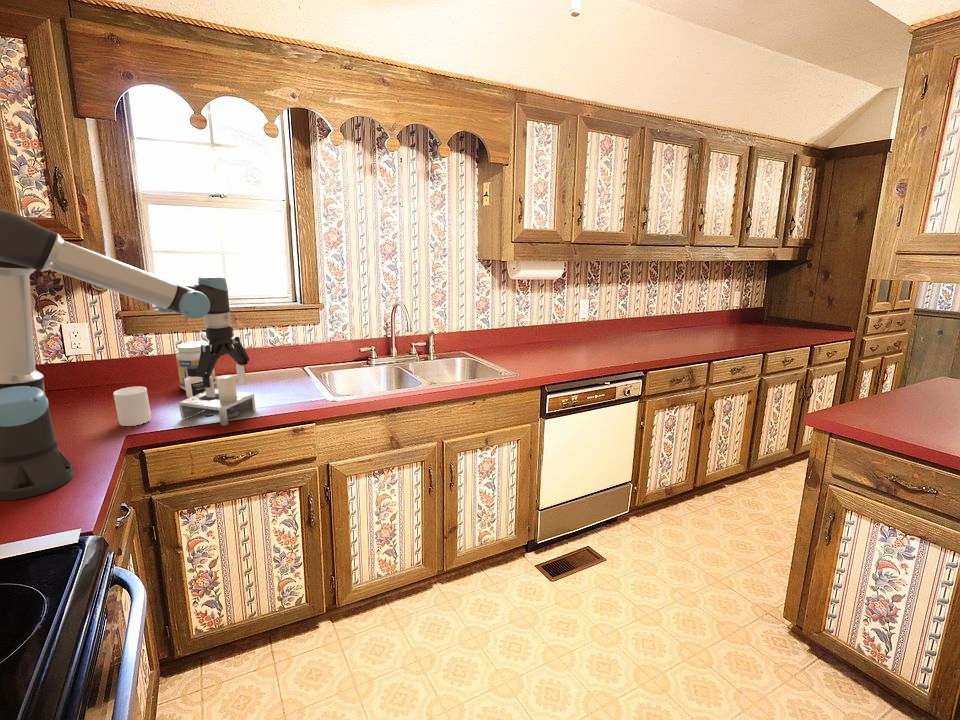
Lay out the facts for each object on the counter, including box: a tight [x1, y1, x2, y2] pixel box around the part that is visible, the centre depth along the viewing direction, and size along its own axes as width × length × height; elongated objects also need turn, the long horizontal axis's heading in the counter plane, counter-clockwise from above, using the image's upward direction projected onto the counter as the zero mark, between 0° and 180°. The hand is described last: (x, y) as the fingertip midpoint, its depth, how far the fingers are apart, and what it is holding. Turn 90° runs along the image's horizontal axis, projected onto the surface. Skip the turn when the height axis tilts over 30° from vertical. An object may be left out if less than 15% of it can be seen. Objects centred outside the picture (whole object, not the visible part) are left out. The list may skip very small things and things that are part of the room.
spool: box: [215, 374, 240, 419], centre depth 162 cm, size 5×5×13 cm
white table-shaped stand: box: [178, 388, 256, 427], centre depth 164 cm, size 14×17×6 cm
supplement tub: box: [175, 341, 217, 391], centre depth 190 cm, size 12×12×17 cm
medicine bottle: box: [184, 364, 207, 399], centre depth 180 cm, size 7×7×12 cm
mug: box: [112, 386, 152, 427], centre depth 158 cm, size 9×12×11 cm
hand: (227, 389), depth 161 cm, fingers open, 13 cm apart
